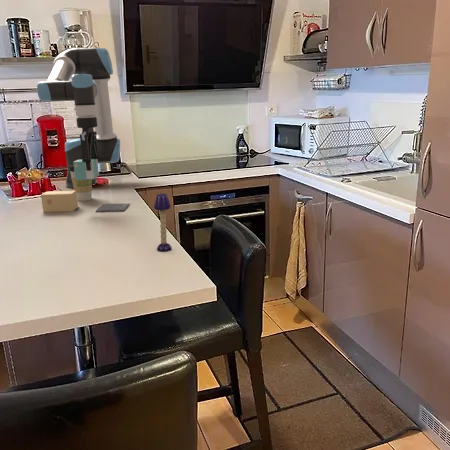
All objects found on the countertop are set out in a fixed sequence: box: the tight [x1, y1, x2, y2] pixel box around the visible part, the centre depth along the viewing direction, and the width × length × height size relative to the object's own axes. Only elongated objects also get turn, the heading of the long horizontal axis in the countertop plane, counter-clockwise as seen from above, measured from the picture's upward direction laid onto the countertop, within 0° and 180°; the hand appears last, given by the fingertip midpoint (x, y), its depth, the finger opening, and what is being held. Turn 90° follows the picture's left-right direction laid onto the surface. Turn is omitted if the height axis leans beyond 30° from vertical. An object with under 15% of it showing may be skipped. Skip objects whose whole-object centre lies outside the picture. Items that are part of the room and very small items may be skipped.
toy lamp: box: [153, 193, 173, 253], centre depth 134 cm, size 5×5×17 cm
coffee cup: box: [69, 165, 93, 202], centre depth 202 cm, size 10×10×15 cm
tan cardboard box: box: [40, 190, 80, 213], centre depth 186 cm, size 6×13×7 cm, turn 89°
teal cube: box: [73, 159, 99, 180], centre depth 182 cm, size 6×7×7 cm
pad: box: [94, 202, 130, 213], centre depth 186 cm, size 11×11×1 cm
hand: (93, 176), depth 183 cm, fingers closed on teal cube, 6 cm apart
